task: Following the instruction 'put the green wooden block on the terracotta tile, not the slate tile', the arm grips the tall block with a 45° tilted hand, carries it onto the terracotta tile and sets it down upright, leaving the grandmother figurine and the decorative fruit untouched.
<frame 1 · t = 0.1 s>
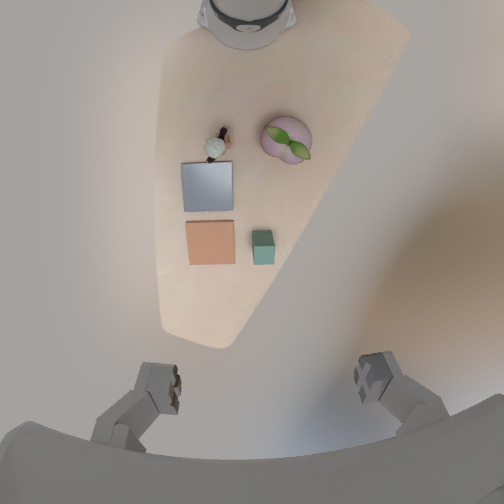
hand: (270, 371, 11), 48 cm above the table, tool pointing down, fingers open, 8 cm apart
grandmother figurine: (221, 141, 52), on the table
decorative fruit: (283, 136, 52), on the table
slate tile: (207, 186, 56), on the table
green wooden block: (261, 239, 62), on the table
terracotta tile: (211, 242, 61), on the table
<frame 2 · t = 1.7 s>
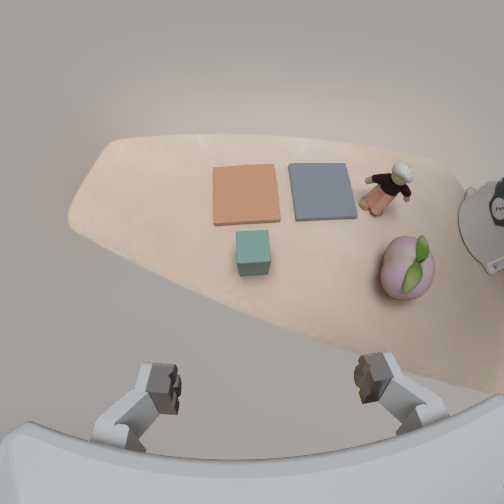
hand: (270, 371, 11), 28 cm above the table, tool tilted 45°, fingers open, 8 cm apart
grandmother figurine: (374, 207, 44), on the table
decorative fruit: (392, 276, 41), on the table
slate tile: (321, 191, 45), on the table
green wooden block: (253, 261, 42), on the table
terracotta tile: (245, 194, 45), on the table
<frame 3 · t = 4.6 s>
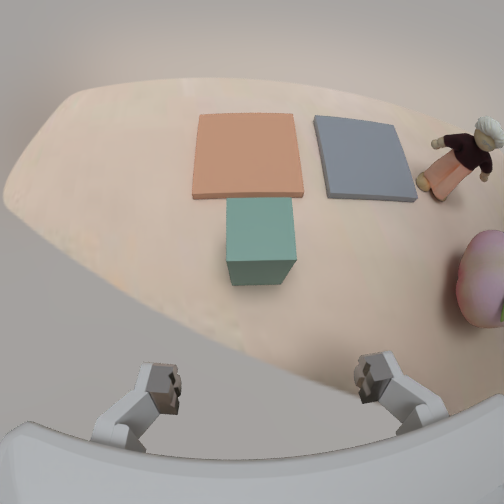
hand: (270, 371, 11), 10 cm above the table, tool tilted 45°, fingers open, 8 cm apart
grandmother figurine: (434, 189, 27), on the table
decorative fruit: (462, 291, 23), on the table
slate tile: (364, 158, 27), on the table
green wooden block: (255, 261, 24), on the table
terracotta tile: (247, 154, 27), on the table
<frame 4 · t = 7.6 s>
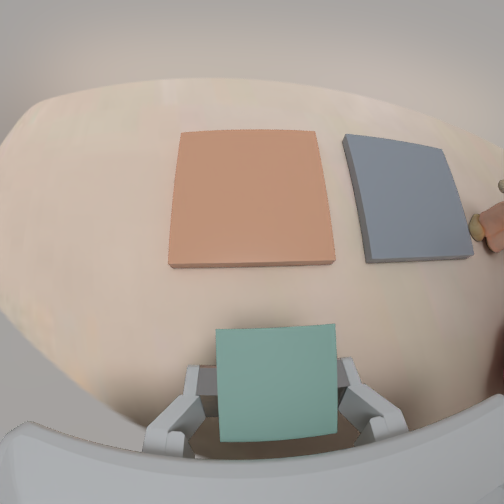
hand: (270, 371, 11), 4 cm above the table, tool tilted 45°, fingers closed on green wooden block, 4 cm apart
grandmother figurine: (486, 236, 19), on the table
slate tile: (410, 198, 19), on the table
green wooden block: (263, 365, 16), on the table, touching gripper
terracotta tile: (250, 194, 19), on the table
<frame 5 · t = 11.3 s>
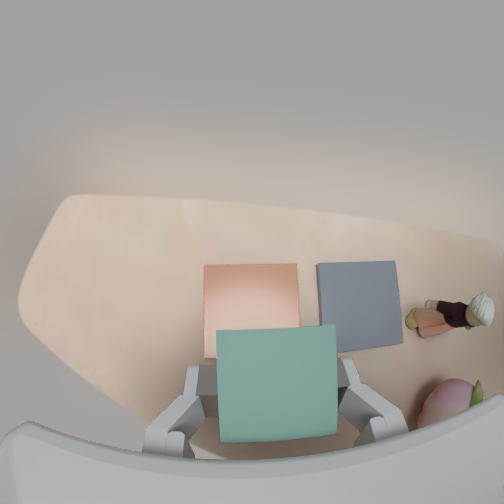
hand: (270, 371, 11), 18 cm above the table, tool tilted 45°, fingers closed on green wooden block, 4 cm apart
grandmother figurine: (421, 323, 30), on the table
decorative fruit: (427, 409, 27), on the table
slate tile: (360, 306, 30), on the table
green wooden block: (263, 365, 16), point 14 cm above the table, touching gripper
terracotta tile: (251, 311, 30), on the table
when the fingers open (7 cm above the table, at t = 15.0 s): green wooden block drops 1 cm, resting on terracotta tile.
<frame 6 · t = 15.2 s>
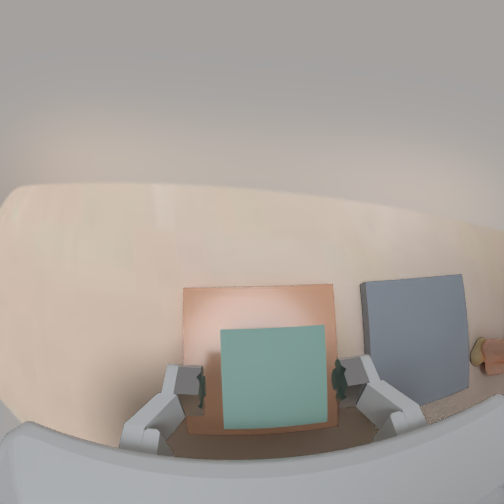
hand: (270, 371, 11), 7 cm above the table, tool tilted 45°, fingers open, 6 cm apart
grandmother figurine: (486, 355, 18), on the table
slate tile: (419, 342, 18), on the table
green wooden block: (262, 364, 17), point 1 cm above the table, touching terracotta tile
terracotta tile: (260, 361, 18), on the table
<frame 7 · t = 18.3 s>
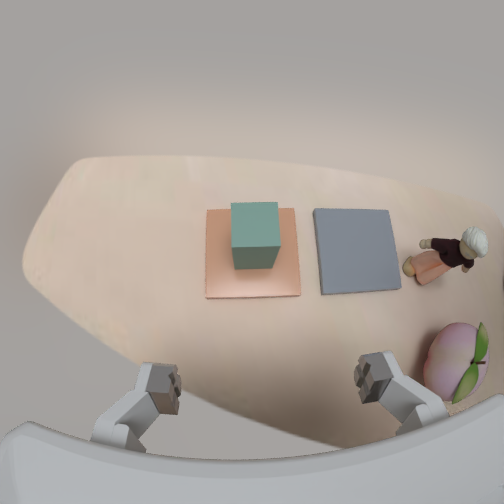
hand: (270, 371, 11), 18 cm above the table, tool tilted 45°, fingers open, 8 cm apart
grandmother figurine: (419, 271, 32), on the table
decorative fruit: (432, 362, 28), on the table
slate tile: (357, 250, 32), on the table
green wooden block: (252, 251, 31), point 1 cm above the table, touching terracotta tile
terracotta tile: (251, 253, 32), on the table
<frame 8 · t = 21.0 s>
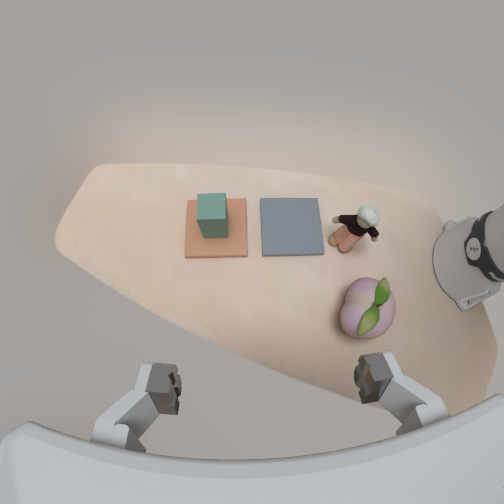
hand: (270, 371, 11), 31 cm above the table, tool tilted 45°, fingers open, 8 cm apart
grandmother figurine: (343, 243, 47), on the table
decorative fruit: (355, 313, 43), on the table
slate tile: (291, 227, 47), on the table
green wooden block: (216, 226, 46), point 1 cm above the table, touching terracotta tile
terracotta tile: (216, 228, 47), on the table
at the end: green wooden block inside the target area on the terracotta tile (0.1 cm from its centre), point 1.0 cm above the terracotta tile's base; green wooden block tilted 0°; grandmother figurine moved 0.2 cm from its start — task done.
